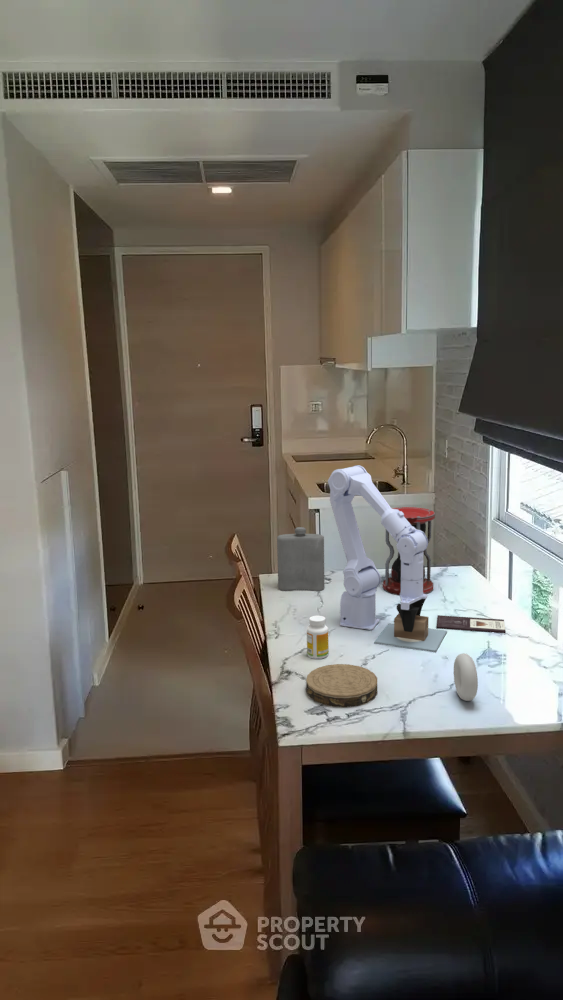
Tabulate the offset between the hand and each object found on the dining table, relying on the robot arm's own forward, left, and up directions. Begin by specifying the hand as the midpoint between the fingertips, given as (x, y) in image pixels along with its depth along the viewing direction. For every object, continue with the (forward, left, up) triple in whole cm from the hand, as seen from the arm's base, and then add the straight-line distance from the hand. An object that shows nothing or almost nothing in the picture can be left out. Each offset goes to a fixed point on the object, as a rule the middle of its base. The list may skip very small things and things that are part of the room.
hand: (411, 627), depth 187 cm
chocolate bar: (+13, +15, -4) cm, 20 cm away
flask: (-43, +28, -3) cm, 51 cm away
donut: (+19, -29, -3) cm, 35 cm away
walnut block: (0, 0, -2) cm, 2 cm away
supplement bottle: (-19, -19, -3) cm, 27 cm away
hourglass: (-11, +40, -3) cm, 42 cm away
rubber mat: (0, 0, -3) cm, 3 cm away
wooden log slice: (-7, -35, -4) cm, 36 cm away
